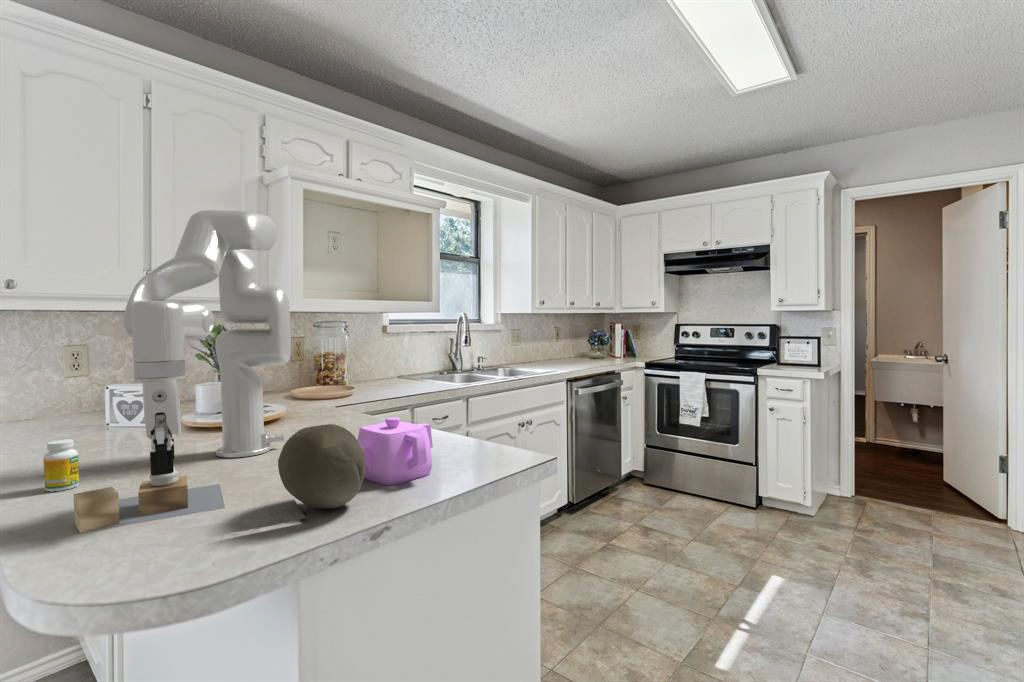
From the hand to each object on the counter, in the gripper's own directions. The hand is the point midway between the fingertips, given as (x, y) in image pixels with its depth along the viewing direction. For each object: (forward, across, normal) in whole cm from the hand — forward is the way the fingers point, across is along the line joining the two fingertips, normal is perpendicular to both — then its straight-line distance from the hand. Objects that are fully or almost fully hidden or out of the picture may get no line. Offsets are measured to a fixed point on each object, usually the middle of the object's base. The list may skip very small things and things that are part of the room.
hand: (163, 467), depth 92 cm
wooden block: (+7, 0, 0) cm, 7 cm away
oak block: (+7, -4, +9) cm, 12 cm away
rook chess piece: (+3, 0, 0) cm, 3 cm away
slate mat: (+8, +1, +1) cm, 8 cm away
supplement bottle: (+8, +27, +18) cm, 33 cm away
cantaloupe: (+8, -15, -24) cm, 29 cm away
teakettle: (+8, -1, -41) cm, 42 cm away
